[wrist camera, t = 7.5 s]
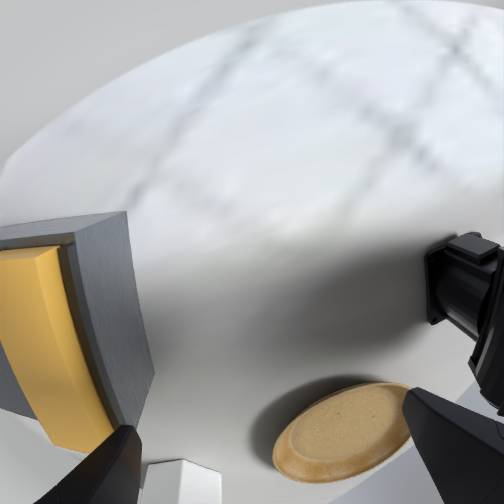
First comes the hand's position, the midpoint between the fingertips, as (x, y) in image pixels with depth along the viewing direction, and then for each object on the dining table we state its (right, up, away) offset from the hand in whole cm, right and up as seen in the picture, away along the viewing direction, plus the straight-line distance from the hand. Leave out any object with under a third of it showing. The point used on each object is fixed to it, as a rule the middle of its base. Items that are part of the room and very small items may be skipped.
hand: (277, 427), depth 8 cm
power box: (-15, +2, +11) cm, 18 cm away
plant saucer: (+8, -11, +16) cm, 22 cm away
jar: (-8, -19, +17) cm, 27 cm away
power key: (-11, 0, +4) cm, 12 cm away
